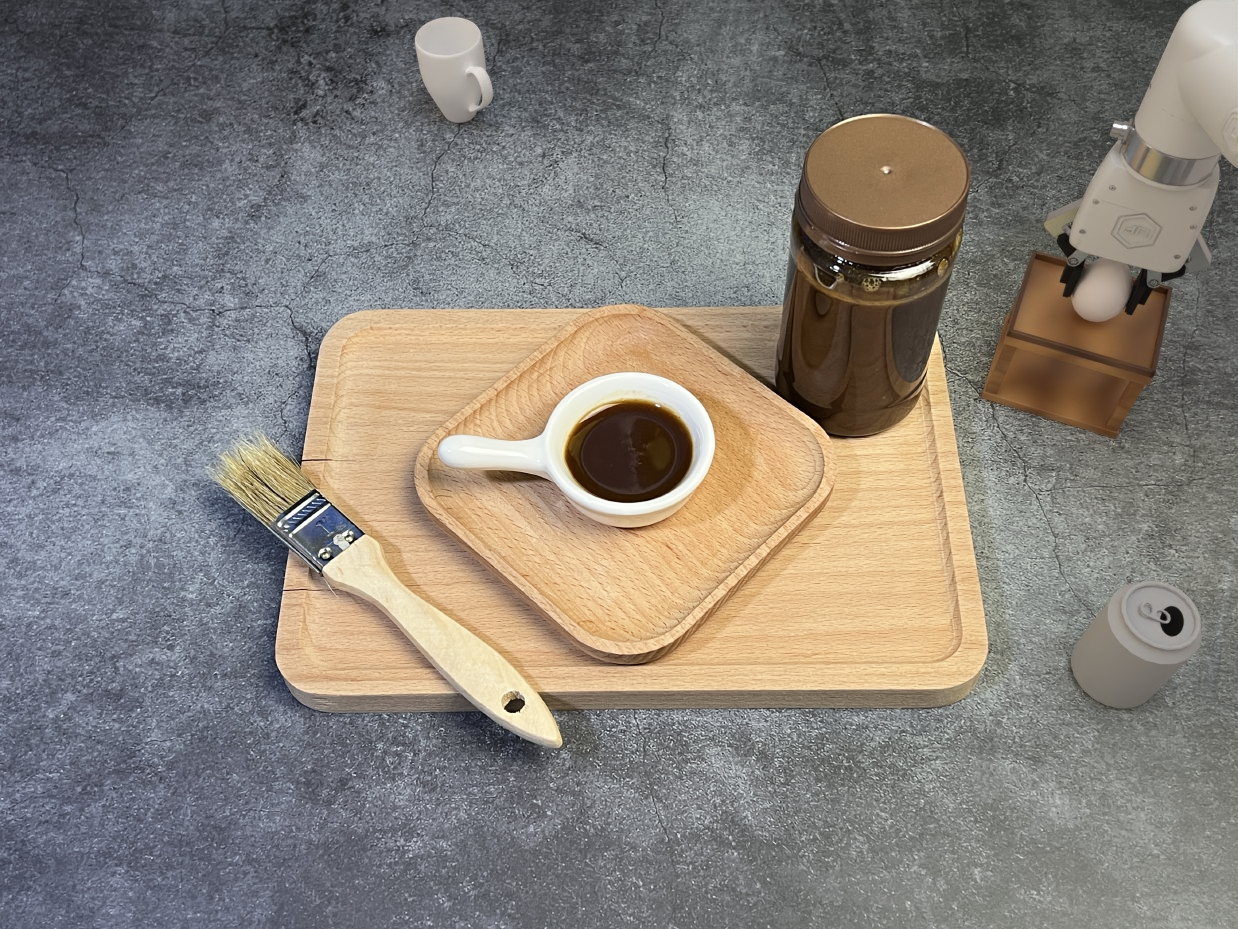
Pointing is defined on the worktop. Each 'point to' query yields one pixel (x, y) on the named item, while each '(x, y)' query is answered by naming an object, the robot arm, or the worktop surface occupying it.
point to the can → (1136, 643)
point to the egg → (1102, 290)
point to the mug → (454, 67)
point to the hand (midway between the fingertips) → (1099, 294)
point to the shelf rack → (1074, 353)
